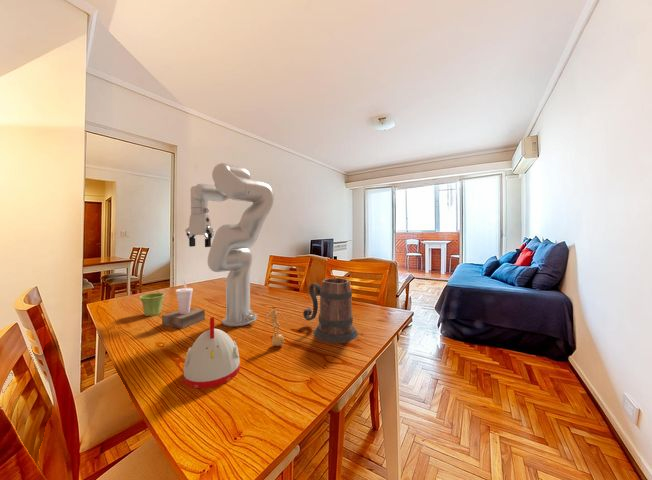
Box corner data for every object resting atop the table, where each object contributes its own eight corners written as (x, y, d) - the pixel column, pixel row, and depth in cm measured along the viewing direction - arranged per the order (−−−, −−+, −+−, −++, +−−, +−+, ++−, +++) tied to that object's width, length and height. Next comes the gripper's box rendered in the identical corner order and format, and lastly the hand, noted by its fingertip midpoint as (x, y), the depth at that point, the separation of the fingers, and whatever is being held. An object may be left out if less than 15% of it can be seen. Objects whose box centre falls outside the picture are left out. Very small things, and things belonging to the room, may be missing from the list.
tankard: (365, 330, 97) (366, 279, 96) (343, 347, 83) (343, 287, 83) (317, 318, 111) (317, 273, 110) (290, 331, 97) (290, 279, 96)
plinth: (204, 319, 109) (204, 310, 109) (183, 328, 99) (182, 318, 98) (185, 316, 113) (185, 307, 112) (162, 325, 102) (162, 315, 102)
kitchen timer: (180, 394, 60) (179, 331, 59) (186, 365, 72) (185, 313, 72) (242, 380, 65) (241, 323, 64) (237, 355, 78) (237, 307, 77)
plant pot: (168, 313, 117) (168, 294, 117) (145, 319, 109) (145, 299, 109) (159, 309, 122) (158, 291, 122) (136, 315, 114) (135, 296, 114)
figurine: (270, 352, 80) (270, 314, 79) (260, 346, 84) (260, 310, 84) (291, 343, 86) (291, 308, 85) (280, 338, 90) (280, 305, 90)
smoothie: (185, 315, 102) (185, 281, 101) (172, 314, 103) (171, 280, 102) (196, 310, 108) (196, 278, 107) (183, 309, 109) (183, 277, 109)
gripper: (219, 212, 124) (219, 246, 125) (192, 212, 130) (192, 245, 131) (207, 211, 117) (208, 247, 118) (179, 211, 123) (180, 246, 124)
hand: (200, 246), depth 124 cm, fingers open, 9 cm apart
